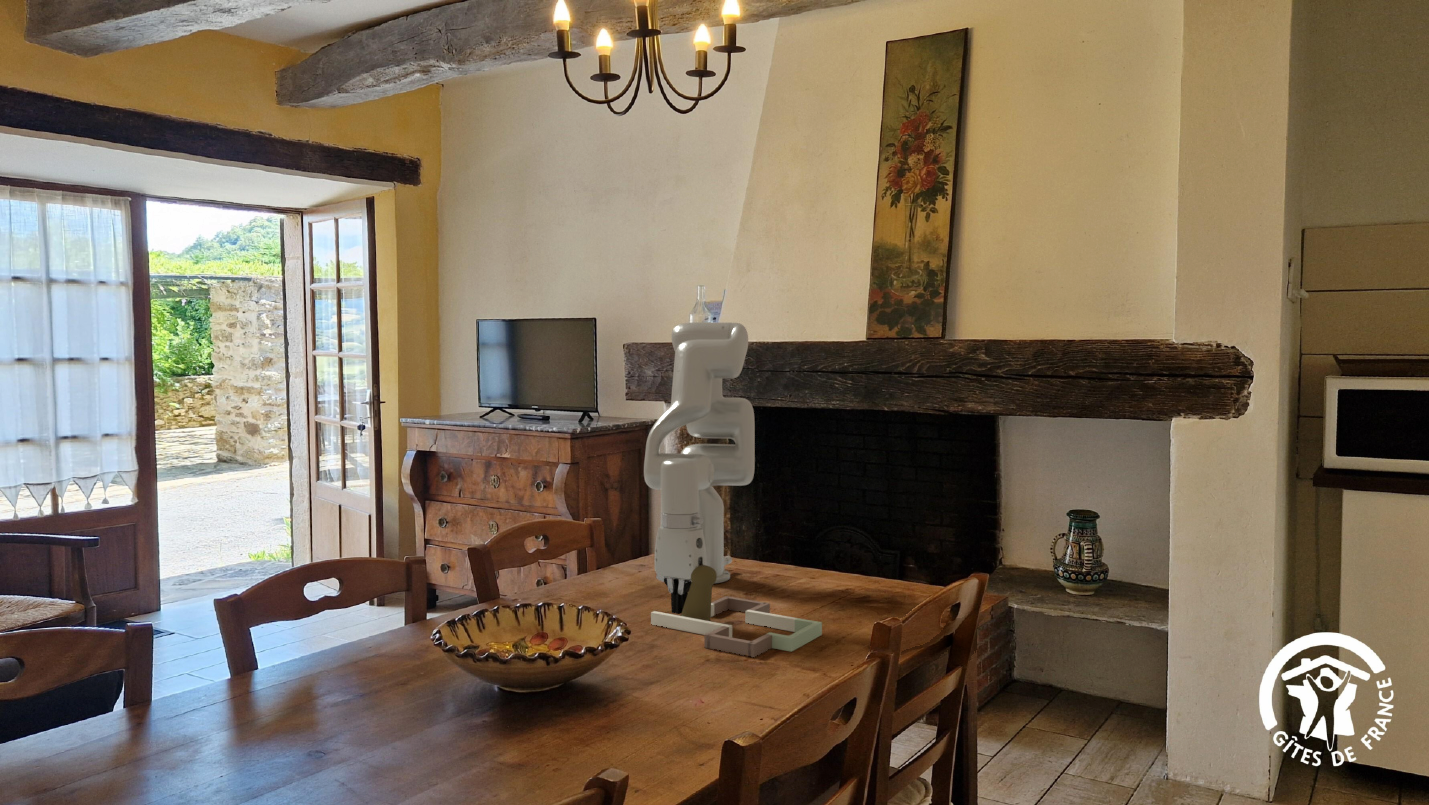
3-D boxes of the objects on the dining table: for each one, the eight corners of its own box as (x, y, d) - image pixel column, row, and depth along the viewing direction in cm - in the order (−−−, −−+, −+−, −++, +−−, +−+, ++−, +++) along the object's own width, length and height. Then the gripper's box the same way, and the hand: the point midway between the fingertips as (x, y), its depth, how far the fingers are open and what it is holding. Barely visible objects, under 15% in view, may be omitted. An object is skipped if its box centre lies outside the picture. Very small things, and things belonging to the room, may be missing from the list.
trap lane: (703, 603, 209) (703, 592, 209) (836, 626, 193) (836, 614, 193) (630, 632, 188) (630, 620, 188) (773, 661, 172) (773, 648, 171)
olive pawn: (712, 616, 198) (722, 565, 196) (707, 628, 192) (717, 576, 190) (683, 610, 198) (692, 559, 196) (677, 621, 192) (687, 569, 190)
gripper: (721, 522, 195) (721, 613, 196) (660, 514, 203) (660, 602, 204) (699, 527, 189) (699, 622, 190) (638, 520, 197) (638, 610, 198)
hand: (679, 612), depth 197 cm, fingers closed
